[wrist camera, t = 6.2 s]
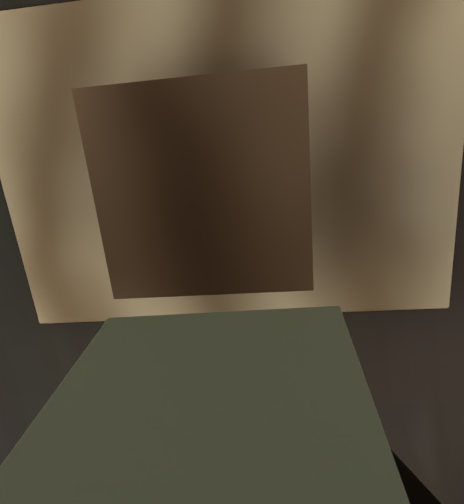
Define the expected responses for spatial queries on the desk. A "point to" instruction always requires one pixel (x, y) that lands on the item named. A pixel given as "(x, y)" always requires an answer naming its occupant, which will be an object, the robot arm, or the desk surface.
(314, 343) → the sage block
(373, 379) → the desk surface
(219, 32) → the base plate
